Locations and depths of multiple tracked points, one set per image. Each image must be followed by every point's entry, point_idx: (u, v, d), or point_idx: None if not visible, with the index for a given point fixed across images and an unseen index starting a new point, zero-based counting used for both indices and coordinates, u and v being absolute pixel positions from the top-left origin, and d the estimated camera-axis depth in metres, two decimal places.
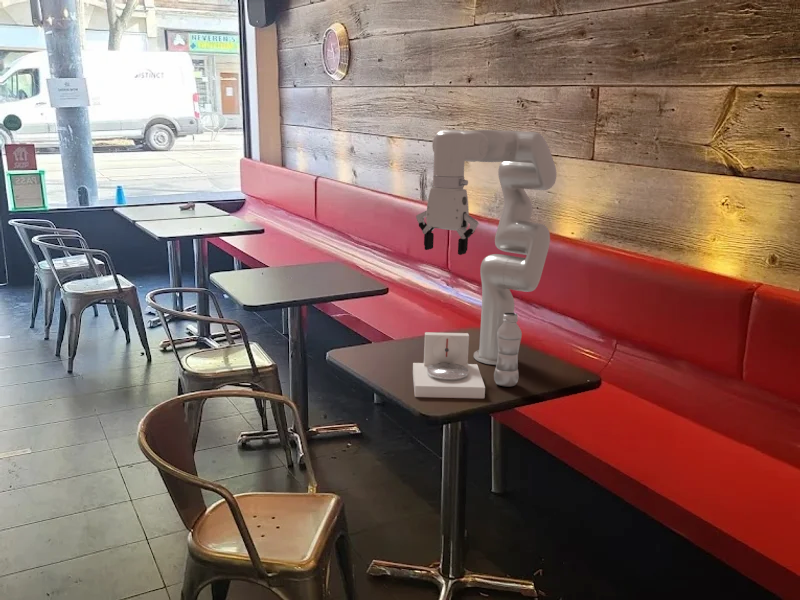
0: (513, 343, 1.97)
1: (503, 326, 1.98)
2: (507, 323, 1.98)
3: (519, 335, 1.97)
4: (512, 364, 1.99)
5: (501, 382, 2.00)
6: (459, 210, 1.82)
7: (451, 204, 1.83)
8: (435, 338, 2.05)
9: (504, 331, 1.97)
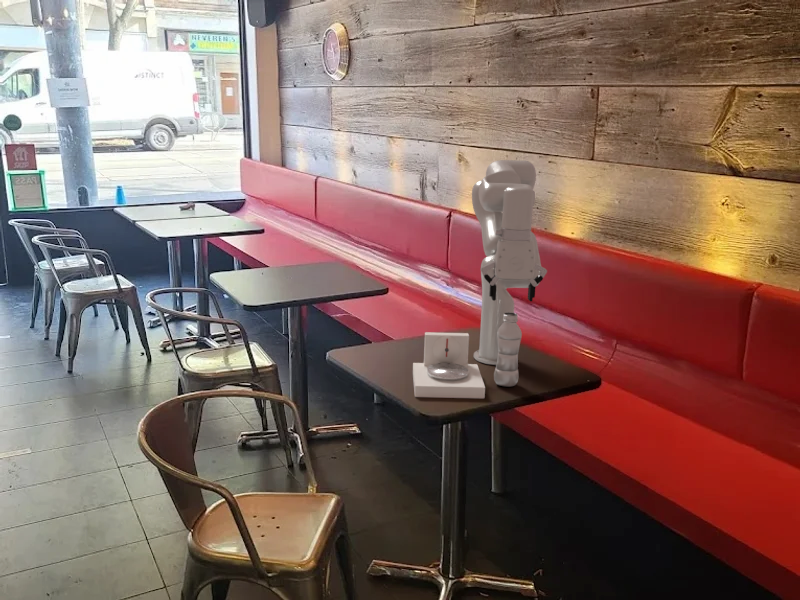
0: (513, 343, 1.97)
1: (503, 326, 1.98)
2: (507, 323, 1.98)
3: (519, 335, 1.97)
4: (512, 364, 1.99)
5: (501, 382, 2.00)
6: None
7: None
8: (435, 338, 2.05)
9: (504, 331, 1.97)
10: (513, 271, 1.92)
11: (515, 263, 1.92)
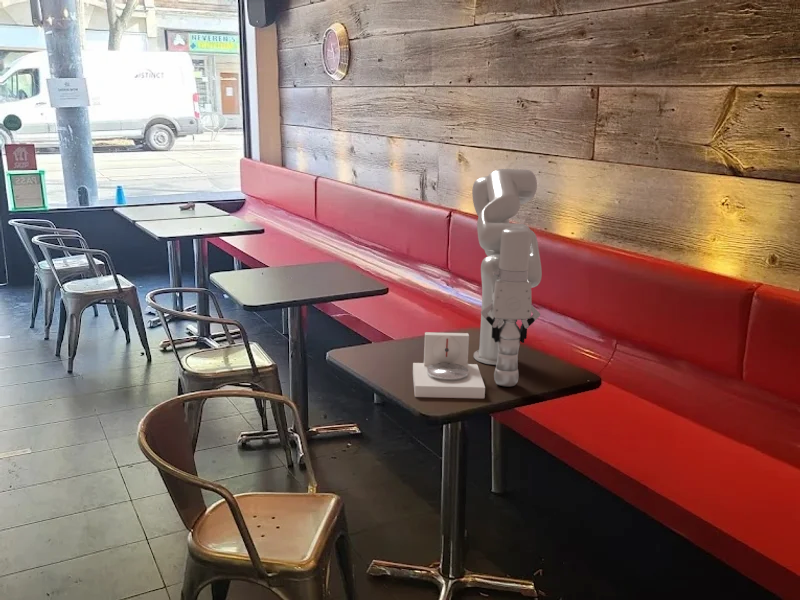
0: (513, 343, 1.97)
1: (503, 326, 1.98)
2: (507, 323, 1.98)
3: (519, 335, 1.97)
4: (512, 364, 1.99)
5: (502, 382, 2.00)
6: None
7: None
8: (435, 338, 2.05)
9: (503, 331, 1.97)
10: (510, 311, 1.95)
11: (512, 303, 1.95)
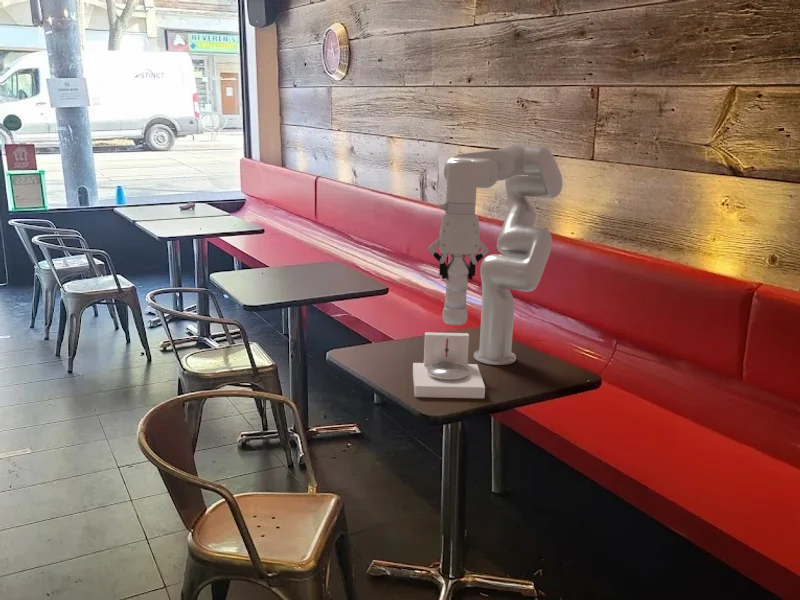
0: (461, 279, 1.92)
1: (450, 262, 1.92)
2: (454, 259, 1.92)
3: (467, 271, 1.92)
4: (460, 302, 1.94)
5: (450, 321, 1.95)
6: None
7: None
8: (435, 338, 2.05)
9: (451, 267, 1.92)
10: (457, 246, 1.90)
11: (459, 238, 1.89)
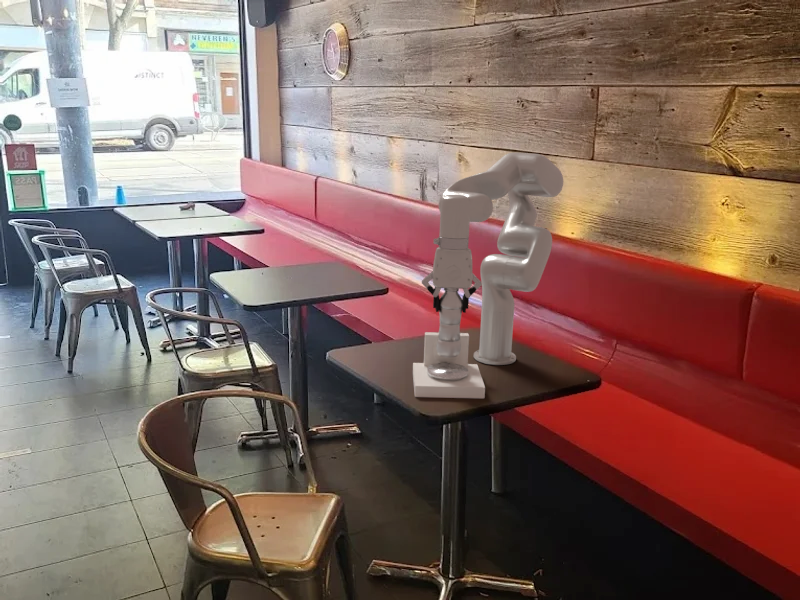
0: (454, 312, 1.94)
1: (444, 295, 1.95)
2: (448, 292, 1.94)
3: (460, 304, 1.94)
4: (453, 335, 1.96)
5: (443, 353, 1.97)
6: None
7: None
8: (435, 338, 2.05)
9: (444, 301, 1.94)
10: (450, 280, 1.92)
11: (452, 272, 1.91)
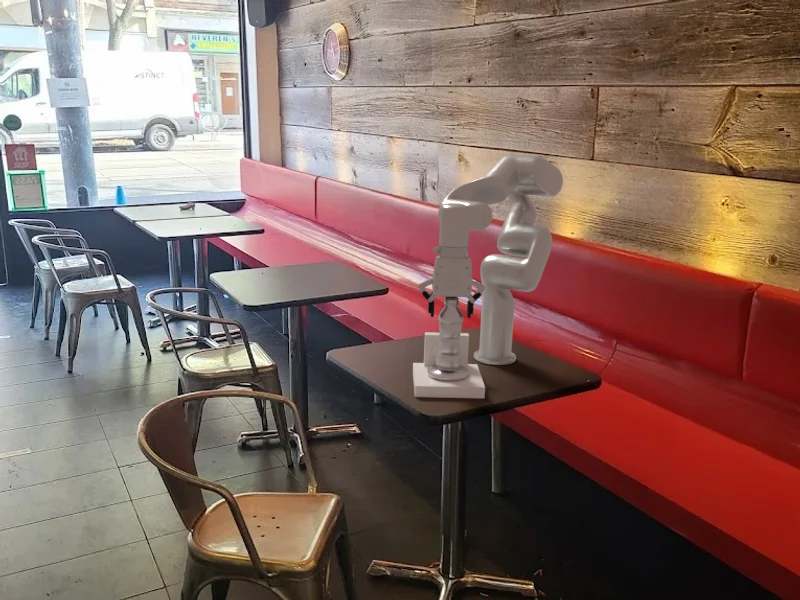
0: (454, 327, 1.95)
1: (444, 310, 1.96)
2: (448, 307, 1.95)
3: (460, 319, 1.95)
4: (453, 349, 1.97)
5: (443, 367, 1.98)
6: None
7: None
8: (435, 338, 2.05)
9: (444, 315, 1.95)
10: (450, 288, 1.92)
11: (452, 280, 1.92)
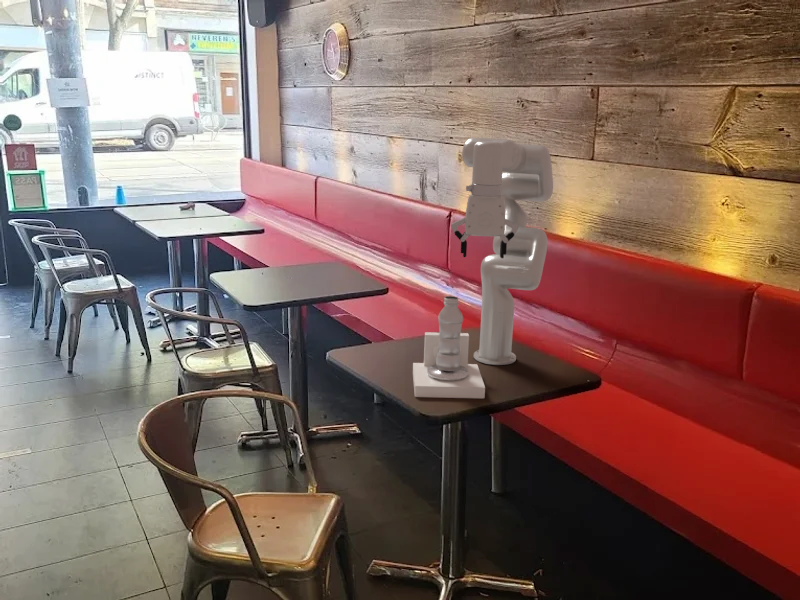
0: (454, 327, 1.95)
1: (444, 310, 1.96)
2: (447, 307, 1.95)
3: (460, 319, 1.95)
4: (453, 349, 1.97)
5: (443, 367, 1.98)
6: None
7: None
8: (435, 338, 2.05)
9: (444, 315, 1.95)
10: (483, 227, 1.90)
11: (485, 219, 1.90)
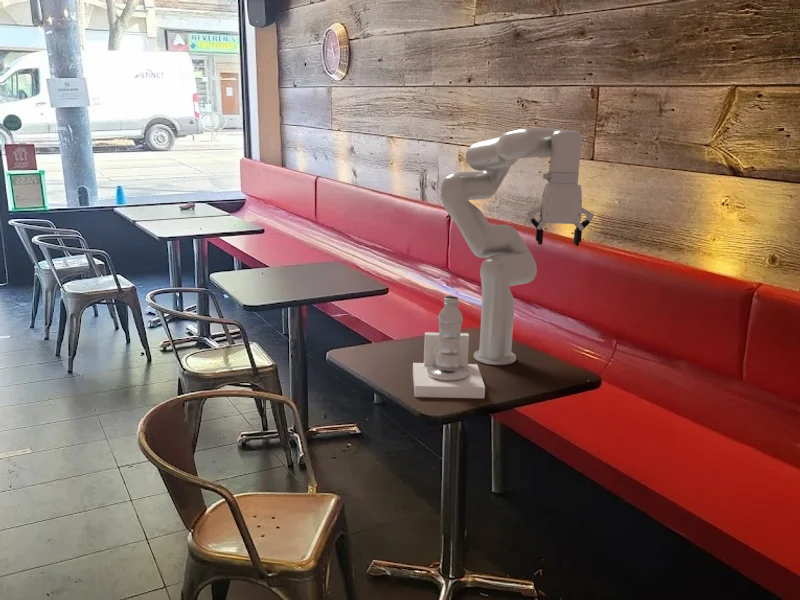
0: (453, 326, 1.95)
1: (443, 310, 1.96)
2: (447, 307, 1.95)
3: (459, 319, 1.95)
4: (453, 349, 1.97)
5: (443, 367, 1.98)
6: None
7: None
8: (435, 338, 2.05)
9: (444, 315, 1.95)
10: (560, 215, 1.93)
11: (562, 207, 1.93)
